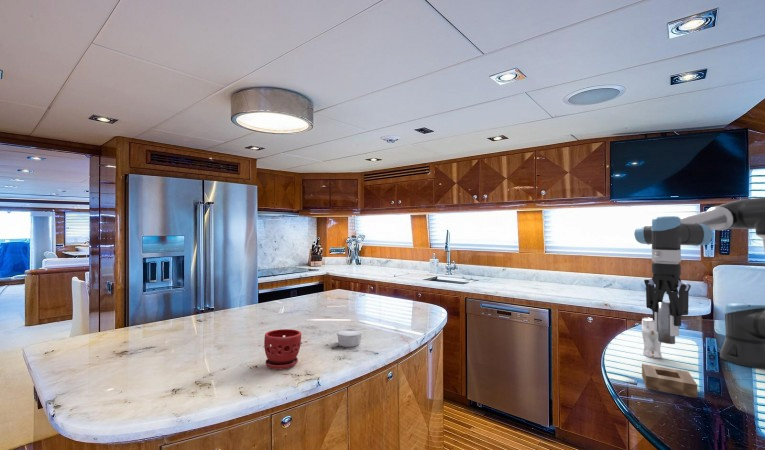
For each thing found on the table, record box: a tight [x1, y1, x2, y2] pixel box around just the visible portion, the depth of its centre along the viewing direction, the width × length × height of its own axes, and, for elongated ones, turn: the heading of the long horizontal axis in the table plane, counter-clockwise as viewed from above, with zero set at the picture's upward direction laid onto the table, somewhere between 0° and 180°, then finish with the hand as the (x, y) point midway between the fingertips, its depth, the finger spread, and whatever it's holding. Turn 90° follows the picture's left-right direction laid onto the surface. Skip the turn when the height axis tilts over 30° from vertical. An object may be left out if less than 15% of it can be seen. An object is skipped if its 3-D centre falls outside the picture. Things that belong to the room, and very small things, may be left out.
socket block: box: [641, 363, 698, 399], centre depth 114 cm, size 12×12×4 cm
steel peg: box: [658, 300, 676, 345], centre depth 114 cm, size 4×4×13 cm
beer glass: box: [641, 317, 663, 359], centre depth 143 cm, size 7×7×15 cm
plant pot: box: [263, 328, 302, 371], centre depth 128 cm, size 13×13×12 cm
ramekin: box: [336, 328, 363, 348], centre depth 154 cm, size 11×11×5 cm
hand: (666, 333), depth 114 cm, fingers closed on steel peg, 4 cm apart
